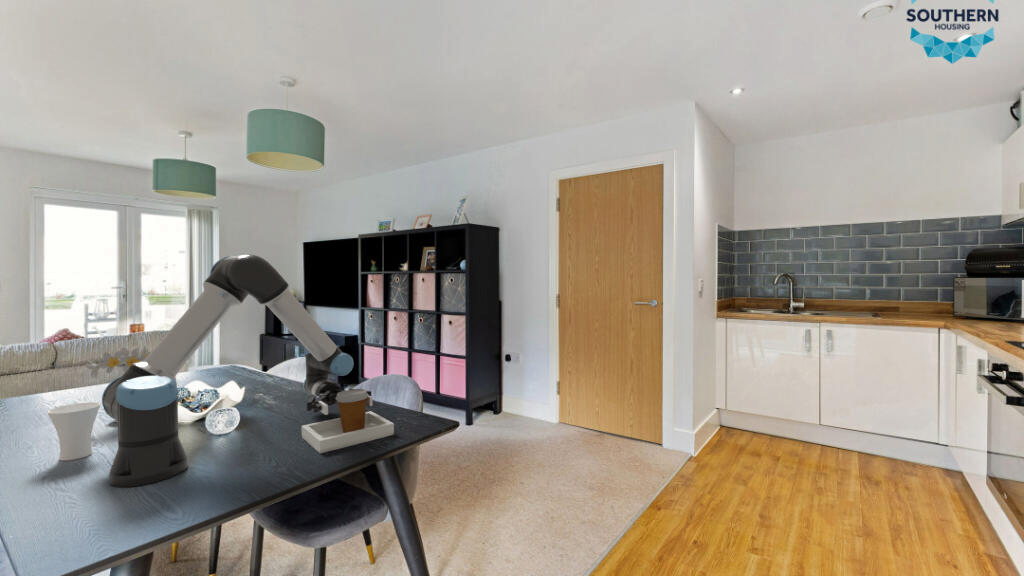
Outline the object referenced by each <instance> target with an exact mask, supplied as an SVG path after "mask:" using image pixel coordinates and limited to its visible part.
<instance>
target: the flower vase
mask: <svg viewBox="0 0 1024 576" xmlns="http://www.w3.org/2000/svg"><path fill="white" fill-rule="evenodd" d="M147 349H148V348H147V347H146V346H145V345H143V348H141V349H140V348H139V347H136V348H135V347H134V348H133V349H132V350H131V351H129V350H128V349H127V348H125V347H121V348H120V351H118V349H116V350H115V352H114V354H113V355H112V354H110V352H104V353H102V354H103V355H102V357H103V359H104V361H102V362H99V363H98V364H97V363H94V362H93V361H91V360H90V359H88V358H87V357H85V361H87V363H85V367H86V368H87V369H88V370H91V372H90V376H91V378H92V379H93V378H95V379H97V378H98V373H99V369H101V370H102V371H104V370H105V369H106V374H110V373H112V372H113V370H114V368H116V369H117V370H118V371H117V372H118V375H119V376H118V377H121V376H122V375H123V374H124V373H125V372H126V371H127V370H128V369H129V367H130V366H131V365H132V364H133V363H137V362H142V361H144V360H145V359H146V357H147V356H148V355H149V354H150V353H151V352H148V350H147ZM139 352H140V353H139ZM139 355H140V356H139ZM114 423H118V422H117V421H116V420H115V419H114Z"/></svg>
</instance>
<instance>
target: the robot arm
mask: <svg viewBox="0 0 1024 576" xmlns="http://www.w3.org/2000/svg"><path fill="white" fill-rule="evenodd" d="M202 284H203V285H202V286H203V291H202V292H201V293H200V295H199V296H198V297H197V298H196V299H195V301H194V302H192V304H191V305H190V306H189V307H188V309H187V310H186V311H185V312H184V313H183V314H182V316H181V317H180V318H179V319H178V320H177V321H176V322H175V324H174V325H173V326H172V327H171V329H170V330H169V331H168V332H166V334H165V335H164V337H162V339H161V340H160V341H159V343H157V344H156V345H155V347H154V348H153V349H152V350H151V352H149V353H150V354H149V355H148V356H147V357H146V359H145V360H144V361H142V362H137V363H133V364H132V365H131V366H130V367H129V369H128V370H127V371H126V372H125V373H124V374H123V375H122V376H121V377H120V376H118V377H116V378H115V379H113V380H112V381H111V382H110V383H108V385H107V386H106V387H105V389H104V391H103V392H102V396H101V404H102V407H103V410H104V412H105V413H106V415H107V416H109V417H110V418H111V419H113V420H114V421H115V420H116V421H117V422H116V423H117V443H118V444H117V445H118V448H117V451H116V453H115V454H116V455H115V456H114V460H113V462H112V464H111V468H110V470H109V473H108V474H109V475H108V476H109V477H108V479H109V480H108V481H109V484H110V485H111V486H112V487H113V486H114V487H118V488H131V487H140V486H144V485H150V484H154V483H156V482H161V481H164V480H168V479H169V478H172V477H174V476H176V475H179V474H180V473H182V472H183V471H184V470H186V469H187V468H188V464H189V463H188V461H189V460H188V455H187V453H186V451H185V449H184V447H183V443H182V442H181V440H180V437H179V409H178V406H179V404H178V403H179V402H178V396H179V390H178V385H177V379H176V377H177V375H178V373H179V372H180V371H181V370H182V369H183V368H184V367H185V365H186V364H187V362H189V360H190V359H191V358H192V356H193V355H194V354H195V353H196V351H197V350H198V349H199V348H200V347H201V345H202V344H203V343H204V341H205V340H206V339H207V338H208V337H209V335H210V334H211V333H212V331H213V330H214V329H215V328H217V327H216V326H218V324H219V323H220V322H221V320H222V319H223V318H224V317H225V316H226V314H227V313H228V312H229V311H230V310H231V308H233V307H235V306H236V307H237V306H240V305H241V304H242V303H243V302H244V300H245V299H246V298H247V297H248V295H249V296H251V297H252V298H254V300H256V301H257V303H259V304H260V305H264V306H266V307H268V308H269V310H270V311H271V313H273V314H274V315H275V316H276V318H278V320H279V321H281V323H282V324H283V325H284V326H285V327H286V329H288V330H289V332H290V333H292V335H293V336H294V337H295V338H296V339H297V340H298V342H300V343H301V344H302V346H303V347H304V348H305V355H304V357H305V379H304V381H303V383H302V388H303V391H304V392H305V394H306V395H307V396H309V399H307V401H306V411H309V412H310V411H312V410H313V413H319V412H321V414H323V415H325V416H327V415H329V406H333V405H335V404H336V403H338V402H337V400H336V397H337V393H339V392H341V391H346V390H347V389H341V387H340V386H339V385H338V384H337V383H335V382H333V381H331V380H330V375H334V376H336V377H338V376H339V377H340V376H341V377H343V376H347V375H348V374H350V373H351V371H352V370H353V368H354V359H353V357H352V356H351V355H350V354H348V353H345V352H343V351H342V350H341V349H340V348H339V347H338V345H336V344H335V342H334V341H333V340H332V339H331V338H330V337H329V336H328V334H327V332H325V331H324V329H323V328H322V327H321V325H319V323H318V322H317V321H316V320H315V319H314V318H313V317H312V316H311V314H310V313H309V312H308V310H306V308H305V307H304V306H303V305H302V304H301V302H299V300H298V299H297V298H296V297H295V296H294V295H293V293H292V292H291V291H290V290H289V287H290V285H289V283H288V282H287V280H285V278H284V277H283V276H282V275H281V274H280V273H279V272H278V270H277V269H276V268H274V266H273V265H272V264H271V263H269V262H268V261H267V260H266V259H264V258H263V257H261V256H259V255H256V254H243V255H241V254H240V255H233V254H232V255H227V256H225V257H222V258H220V259H219V260H217V261H216V262H215V263H214V264H213V265H212V267H211V269H210V272H209V276H207V278H206V279H205V280H204V281H203V283H202ZM352 389H353V388H352V387H350V388H348V390H352ZM365 390H366V391H367V394H368V396H367V399H366V406H369V407H372V406H373V396H372V391H371V390H367V389H365Z"/></svg>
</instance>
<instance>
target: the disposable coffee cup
mask: <svg viewBox="0 0 1024 576" xmlns="http://www.w3.org/2000/svg"><path fill="white" fill-rule="evenodd" d="M345 390H346V391H341V392H339V393H337V397H336V400H337V402H336V403H337V407H338V412H339V418H341V423H342V429H343V433H348V432H352V431H356V430H361V429H364V426H365V413H366V412H367V411H366V410H367V404H366V399H367V396H368V394H367V391H368V390H367V389H364V388H363V389H362V388H355V389H354V388H352V390H349V389H345ZM366 390H367V391H366Z"/></svg>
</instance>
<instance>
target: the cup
mask: <svg viewBox="0 0 1024 576" xmlns="http://www.w3.org/2000/svg"><path fill="white" fill-rule="evenodd" d="M101 404H102V403H100V402H95V401H93V402H91V401H90V402H79V403H78V402H77V403H71V404H66V405H61V406H58V407H54V408H51V409H49V410H48V411H47V412H46V413H47V415H48V417H49V419H50V420H51V423H52V425H53V426H54V429H55V431H56V434H57V436H58V441H59V448H60V449H59V450H60V451H59V458H58V459H59V460H60V461H63V462H64V461H73V460H79V459H83V458H85V457H88V456H91V455H92V454H93V449H92V434H93V428H94V424H95V421H96V419H97V415H98V413H99V409H100V407H101Z"/></svg>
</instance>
